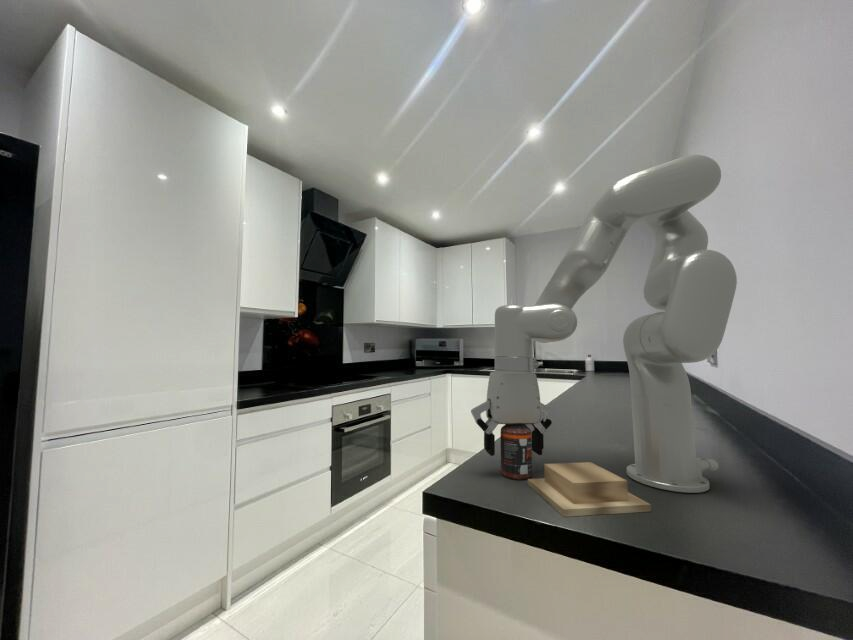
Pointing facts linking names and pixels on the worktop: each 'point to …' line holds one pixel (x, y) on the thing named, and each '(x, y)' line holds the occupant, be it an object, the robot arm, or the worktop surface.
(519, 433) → the supplement bottle
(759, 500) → the worktop surface
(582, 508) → the oak base
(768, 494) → the worktop surface
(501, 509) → the worktop surface
